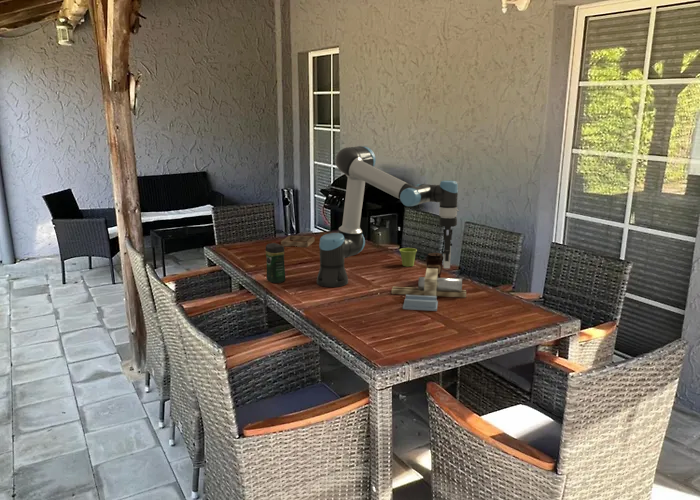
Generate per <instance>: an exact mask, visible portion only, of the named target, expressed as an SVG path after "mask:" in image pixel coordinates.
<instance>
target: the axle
mask: <svg viewBox="0 0 700 500" xmlns="http://www.w3.org/2000/svg"><path fill="white" fill-rule="evenodd" d="M424 281H425V276H419V277H418V281H417V282H418V284H417V285H418V287H417V288H418V290H424ZM462 290H463V278H451V277H450V278H449V277H440V278H437V285H436V291H446V292H462Z"/></svg>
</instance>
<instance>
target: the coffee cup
mask: <svg viewBox="0 0 700 500" xmlns="http://www.w3.org/2000/svg"><path fill="white" fill-rule="evenodd" d="M425 259H426V261H425V262H426V269H427V268H434V269H438V278H441V275H442V270H443V262H444V255H443V254H442V253H440V252H430V253H427V256H426V257H425Z"/></svg>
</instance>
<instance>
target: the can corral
mask: <svg viewBox="0 0 700 500" xmlns="http://www.w3.org/2000/svg"><path fill="white" fill-rule="evenodd" d="M290 240H293V241H290ZM313 243H315V236H309V235H308V236H305V235H288V236H287V237H285V238H284V239H282V240H280V245H282V246H284V247H291V246H295V247H296V246H297V247H296V248H300V247H301V248H309V247H310V246H311V245H312V244H313Z"/></svg>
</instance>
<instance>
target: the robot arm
mask: <svg viewBox="0 0 700 500" xmlns="http://www.w3.org/2000/svg"><path fill="white" fill-rule="evenodd" d="M375 165H376V155H375V153H374V151H373V150H372V148H369V147H368V146H362V145H357V146H348V147H344V148H342V149H340V150H339V151H338V152H337V153H336V156H335V166H336V167H337V170H339V171H340V172H341V173H342V174H344V175H345V176H346V177H347V181H346V191H345V200H344V208H343V216H342V225H341V226H339V227H338V232H331V233H326V234H323V235H321V237H320V238H319V244H318V246H319V270H318V273H317V277H316V284H317V285H318V286H320V287H323V288H324V287H325V288H337V287H338V288H339V287H344V286H346V285H348V284H349V277H348V273H347V270H346V268H345V259H348V258H349V257H352V256H356V255H358V254H359V253H360V252H362V251H363V250H364V248H365V246H366V240H365V239H366V238H365V237H364V234H363V230H362V229H361V218H362V209H363V202H364V195H365V188H366V187H365V186H366V183H367V184H369V185H371V186H372V187H375V188H377V189H379V190H381V191H383V192H385V193H387V194H389V195H391V196H393V197H394V198H397V199H399V200H400V202H401V203H402V204H403V206H405V207H414V206H418V205H421V204H424V203H429V202H430V203H439V208H438V209H439V211H438V213H439V221H438V225H439V226H440V227H444V229H443V231H442V234H443V240H444V244H443V245H444V246H443V248H444V249H443V251H442V253H441V254H442V255H443V269H451V255H452V253H451V252H452V251H451V250H452V247H453V243H452V242H451V241H452V239H453V238H452V237H453V229H452V227H456V226H457V225H458V217H457V216H458V212H460V210H459V209H458V195H459V194H458V193H459V190H458V189H459V188H458V187H459V185H458V181H456V180H441V181H440V182H439V184H429V183H428V184H427V183H418V184H416V185H415V186H414V185H412V184H410V183H408V182H406V181H404V180H402V179H400V178H398V177H396V176H394V175H391V174H390V173H388V172H385V171H383V170H382V169H379V168H378V167H375Z"/></svg>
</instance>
